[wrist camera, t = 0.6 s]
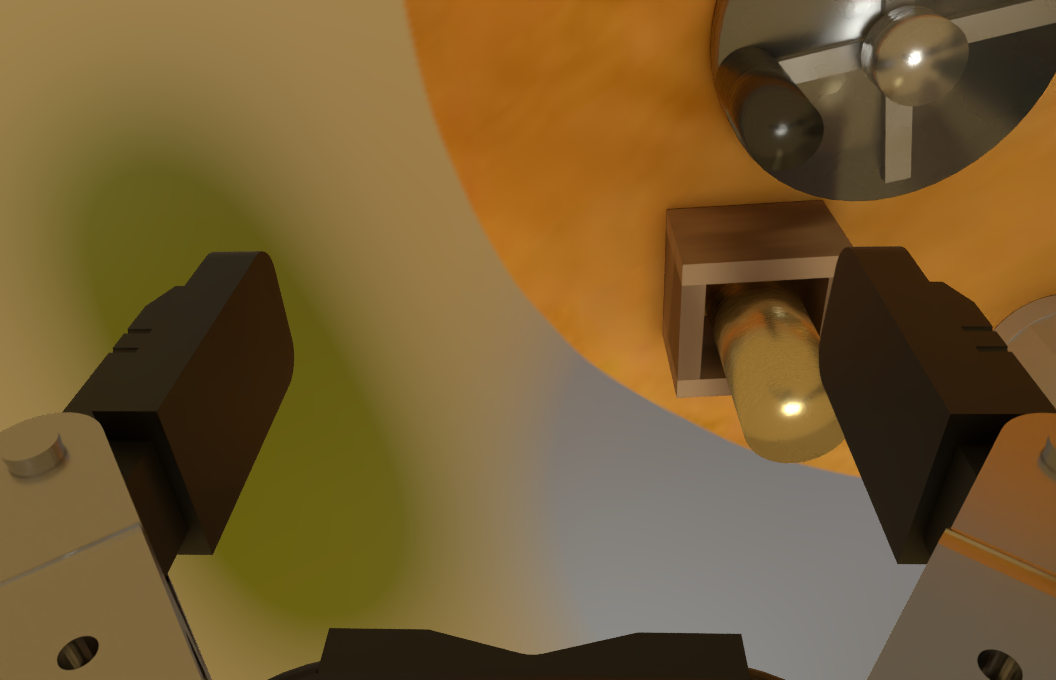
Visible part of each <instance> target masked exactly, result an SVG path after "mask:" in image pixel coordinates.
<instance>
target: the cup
mask: <svg viewBox="0 0 1056 680" xmlns="http://www.w3.org/2000/svg"><path fill="white" fill-rule="evenodd" d="M994 331H996V332H997V333H998V334H999V335H1000V337H1001V338H1002V339H1003V341H1004V342H1005V343H1006V345H1007V346H1008V348H1007V349H1008V352H1013V354H1014V355H1015V356H1016V358H1017V359H1018V360H1019V362H1020V363H1021V364H1022V365H1023V367H1024V368H1025V369H1026V371H1027V372H1028V373H1029V375H1030V376H1031V377H1032V378H1033V380H1034V381H1035V382H1036V384H1037V385H1038V386H1039V388H1040V389H1041V390H1042V392H1043V393H1044V394H1045V395H1046V397H1047V398H1048V399H1049V401H1050V402H1051V403H1052V405H1053V406H1054V407H1055V408H1056V295H1052V296H1048V297H1045V298H1041V299H1039V300H1036V301H1033V302H1031V303H1029V304H1027V305H1025V306H1023V307H1021V308H1020V309H1018V310H1016V311H1015V312H1013V313H1012V314H1011V315H1009V316H1008V317H1007V318H1005V319H1004V320H1003V321H1002V322H1001V323H1000V324H999V325H998V326H997V327H996V328H995V330H994Z"/></svg>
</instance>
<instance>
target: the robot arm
mask: <svg viewBox="0 0 1056 680" xmlns="http://www.w3.org/2000/svg"><path fill="white" fill-rule="evenodd" d="M992 327H993V326H992V325H991V324H990V322H989V321H988V320H987V318H986V317H985V316H984V315H983V313H982V312H981V311H980V309H979V308H978V307H977V305H976V304H975V303H974V302H973V301H971V300H970V299H968V298H967V297H965V296H964V295H962V294H960V293H959V292H957V291H956V290H954V289H953V288H951V287H950V286H948V285H947V284H945V283H944V282H929V280H928V279H927V278H926V276H925V275H924V273H923V272H922V271H921V269H920V268H919V266H918V265H917V264H916V262H915V261H914V259H913V258H912V257H911V255H910V254H909V252H908V251H907V250H906V249H905V248H904V247H900V246H897V247H846V248H844V249H843V250H842V251H841V253H840V255H839V257H838V260H837V263H836V268H835V272H834V277H833V282H832V286H831V291H830V295H829V300H828V305H827V309H826V314H825V319H824V323H823V328H822V332H821V337H820V343H819V371H820V377H821V381H822V384H823V387H824V389H825V391H826V394H827V396H828V399H829V401H830V403H831V406H832V408H833V410H834V413H835V415H836V418H837V420H838V422H839V425H840V427H841V430H842V432H843V434H844V437H845V439H846V442H847V444H848V446H849V449H850V451H851V454H852V456H853V458H854V461H855V463H856V466H857V468H858V470H859V473H860V475H861V478H862V480H863V482H864V485H865V487H866V489H867V492H868V494H869V496H870V499H871V502H872V504H873V506H874V509H875V511H876V513H877V516H878V518H879V521H880V523H881V525H882V528H883V530H884V533H885V535H886V537H887V540H888V542H889V545H890V547H891V549H892V552H893V554H894V556H895V559H896V561H897V564H927V565H926V567H925V569H924V571H923V573H922V575H921V577H920V579H919V580H918V582H917V584H916V586H915V588H914V590H913V592H912V594H911V596H910V598H909V600H908V602H907V604H906V606H905V607H904V609H903V611H902V613H901V615H900V617H899V619H898V621H897V623H896V625H895V627H894V629H893V631H892V633H891V634H890V636H889V638H888V640H887V642H886V644H885V646H884V648H883V650H882V652H881V654H880V656H879V658H878V660H877V662H876V664H875V665H874V667H873V669H872V671H871V673H870V675H869V677H868V679H867V680H1056V408H1055V407H1054V406H1053V405H1052V403H1051V402H1050V401H1049V399H1048V398H1047V397H1046V395H1045V394H1044V393H1043V392H1042V390H1041V389H1040V388H1039V386H1038V385H1037V384H1036V382H1035V381H1034V380H1033V378H1032V377H1031V376H1030V375H1029V373H1028V372H1027V371H1026V369H1025V368H1024V367H1023V365H1022V364H1021V363H1020V362H1019V360H1018V359H1017V358H1016V356H1015V355H1014V354H1013V352H1008V349H1007V348H1008V346H1007V345H1006V343H1005V342H1004V341H1003V339H1002V338H1001V337H1000V335H999V334H998V333H997V332H996V331H992ZM293 366H294V349H293V342H292V337H291V333H290V329H289V325H288V321H287V317H286V313H285V309H284V305H283V300H282V296H281V292H280V288H279V284H278V280H277V276H276V272H275V268H274V265H273V263H272V260H271V258H270V256H269V255H268V254H267V253H266V252H262V251H257V252H212V253H209V254H208V255H207V256H206V258H205V259H204V260H203V262H202V263H201V264H200V266H199V267H198V268H197V270H196V271H195V272H194V274H193V275H192V277H191V278H190V279H189V281H188V282H187V283H186V285H185V286H175V287H174V288H172V289H171V290H169V291H168V292H166V293H165V294H163V295H162V296H160V297H159V298H157V299H156V300H154V301H153V302H151V303H150V304H148V305H147V306H145V308H144V309H143V310H142V311H141V313H140V314H139V315H138V316H137V318H136V319H135V320H134V322H133V323H132V324H131V325H130V327H129V328H128V334H123V336H122V337H121V338H120V340H119V341H118V342H117V343H116V345H115V346H114V347H113V353H109V354H108V355H107V356H106V357H105V358H104V360H103V361H102V362H101V364H100V365H99V366H98V367H97V369H96V370H95V371H94V372H93V374H92V375H91V376H90V378H89V379H88V380H87V381H86V383H85V384H84V385H83V386H82V388H81V389H80V390H79V392H78V393H77V394H76V395H75V397H74V398H73V399H72V401H71V402H70V403H69V404H68V406H67V407H66V408H65V409H64V411H63V412H62V413H54V414H47V415H43V416H39V417H35V418H32V419H29V420H25V421H23V422H20V423H18V424H16V425H13V426H11V427H9V428H7V429H5V430H3V431H2V432H0V680H212V679H211V676H210V674H209V672H208V669H207V667H206V664H205V662H204V660H203V657H202V655H201V652H200V650H199V647H198V645H197V643H196V640H195V638H194V635H193V633H192V630H191V628H190V625H189V623H188V621H187V618H186V616H185V613H184V611H183V608H182V606H181V604H180V601H179V599H178V596H177V594H176V592H175V589H174V587H173V584H172V582H171V580H170V578H169V576H168V571H169V569H170V567H171V565H172V563H173V561H174V559H175V557H176V555H177V554H179V555H182V554H183V555H184V554H185V555H186V554H187V555H188V554H189V555H191V554H192V555H213V553H214V551H215V548H216V546H217V544H218V542H219V540H220V538H221V535H222V533H223V531H224V528H225V526H226V524H227V522H228V520H229V518H230V515H231V513H232V511H233V509H234V506H235V504H236V502H237V500H238V498H239V495H240V493H241V491H242V489H243V487H244V484H245V482H246V480H247V478H248V475H249V473H250V471H251V469H252V466H253V464H254V462H255V460H256V458H257V455H258V453H259V451H260V449H261V446H262V444H263V442H264V440H265V437H266V435H267V433H268V431H269V429H270V427H271V424H272V422H273V420H274V417H275V415H276V413H277V411H278V409H279V407H280V404H281V402H282V400H283V398H284V396H285V393H286V391H287V389H288V387H289V384H290V382H291V378H292V374H293ZM268 680H785V679H782V678H779V677H777V676H774V675H771V674H769V673H766V672H763V671H759V670H755V669H752V668H748V665H747V661H746V656H745V651H744V646H743V641H742V636H741V634H703V633H701V634H700V633H634V634H629V635H625V636H620V637H616V638H612V639H607V640H603V641H598V642H593V643H589V644H585V645H581V646H576V647H571V648H567V649H562V650H558V651H553V652H549V653H544V654H538V655H526V654H521V653H517V652H513V651H509V650H505V649H501V648H497V647H494V646H490V645H486V644H482V643H478V642H474V641H471V640H467V639H463V638H459V637H455V636H451V635H447V634H444V633H439V632H435V631H432V630H420V629H418V630H417V629H350V628H347V629H346V628H344V629H343V628H329V632H328V635H327V639H326V642H325V646H324V650H323V653H322V657H321V661H319V662H315V663H311V664H307V665H304V666H301V667H298V668H295V669H292V670H289V671H287V672H283V673H281V674H279V675H277V676H275V677H272V678H270V679H268Z"/></svg>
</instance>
